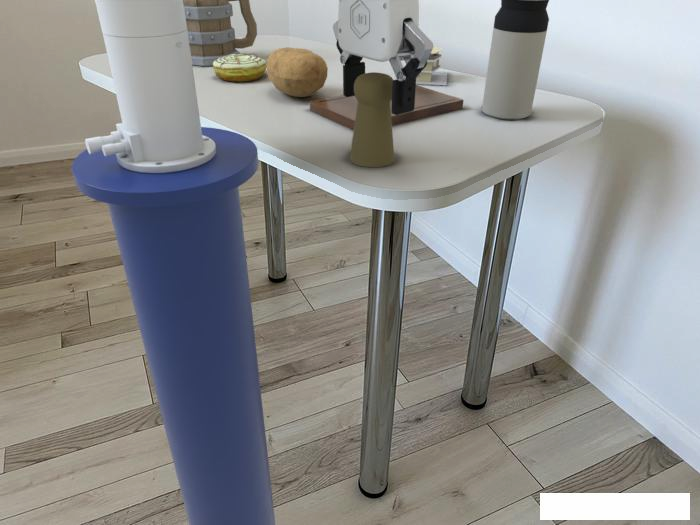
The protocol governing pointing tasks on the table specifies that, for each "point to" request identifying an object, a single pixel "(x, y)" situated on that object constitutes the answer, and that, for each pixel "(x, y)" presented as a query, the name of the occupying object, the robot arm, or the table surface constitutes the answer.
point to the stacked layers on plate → (432, 70)
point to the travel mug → (515, 58)
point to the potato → (296, 71)
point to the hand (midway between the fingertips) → (377, 103)
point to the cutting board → (425, 106)
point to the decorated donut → (239, 67)
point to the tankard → (215, 29)
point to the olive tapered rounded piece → (373, 121)
